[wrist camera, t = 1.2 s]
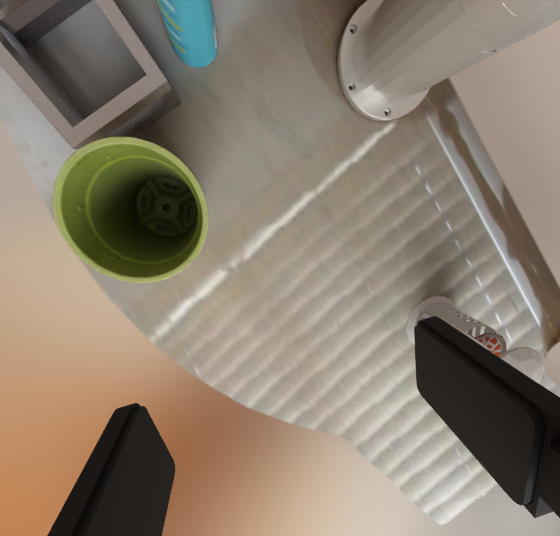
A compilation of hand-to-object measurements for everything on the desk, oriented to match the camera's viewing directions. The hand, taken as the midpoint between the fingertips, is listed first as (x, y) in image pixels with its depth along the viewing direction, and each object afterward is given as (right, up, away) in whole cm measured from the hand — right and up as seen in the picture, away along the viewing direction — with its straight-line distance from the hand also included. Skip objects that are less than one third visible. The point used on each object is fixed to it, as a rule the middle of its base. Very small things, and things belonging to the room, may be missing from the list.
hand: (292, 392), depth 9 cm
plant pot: (-14, +12, +23) cm, 30 cm away
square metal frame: (-19, +25, +18) cm, 36 cm away
